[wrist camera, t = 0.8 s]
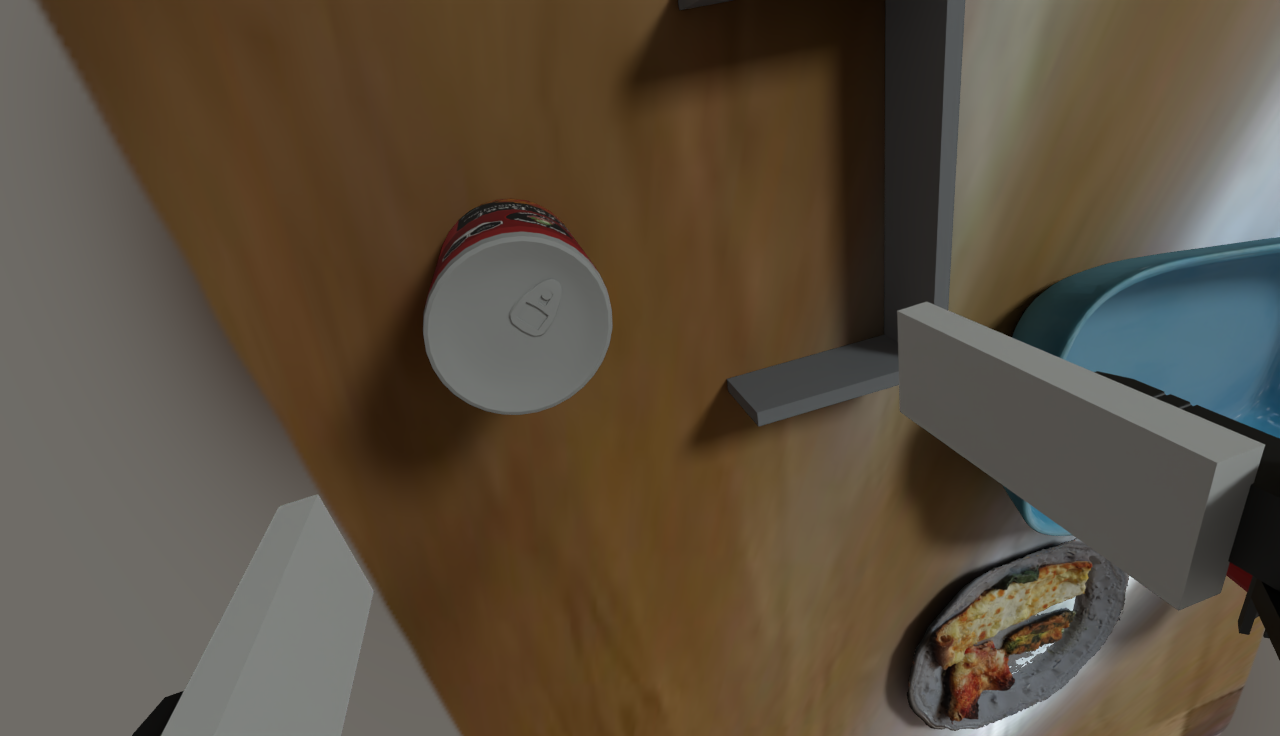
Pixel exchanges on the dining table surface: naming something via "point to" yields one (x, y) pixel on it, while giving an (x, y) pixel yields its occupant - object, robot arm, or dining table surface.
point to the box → (889, 213)
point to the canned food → (515, 310)
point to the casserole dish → (1172, 331)
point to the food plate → (1014, 636)
